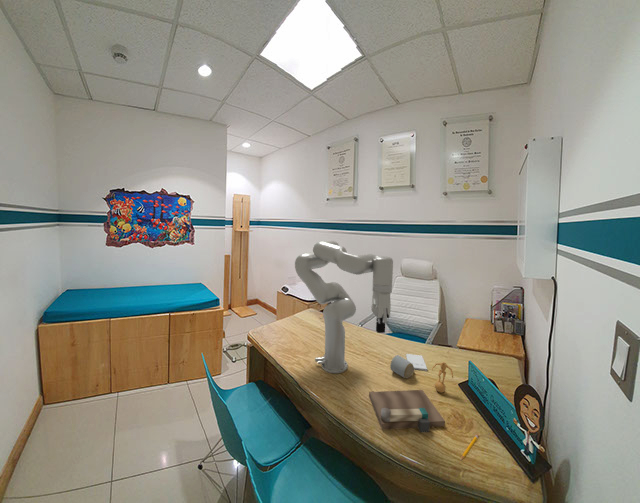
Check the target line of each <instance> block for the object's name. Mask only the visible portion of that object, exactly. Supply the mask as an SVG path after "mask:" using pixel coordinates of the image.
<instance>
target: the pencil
mask: <svg viewBox="0 0 640 503" xmlns="http://www.w3.org/2000/svg"><path fill="white" fill-rule="evenodd" d="M478 438H479V435H478V434H476V435H475V436H474V437H473V439H472V440H471V442H469V445H468V446H467V447H466V449H465V450H464V452H463V453H462V455H461V457H460V461H462V460H463V459H465V458H466V456H467V455H468V453H469V452H470V450H471V449H472V448H473V446H474V444H476V442H477V440H478Z"/></svg>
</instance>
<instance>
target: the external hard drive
mask: <svg viewBox="0 0 640 503" xmlns="http://www.w3.org/2000/svg"><path fill="white" fill-rule="evenodd" d="M405 357H406V358H405V359H406V360H407V361H409V362H410V363H412V364H413V366H414V370H415V371H417V370H419V371H423V372H424V371H425V372H428V368H427V364H426V360H424V356H423V355H421V354H420V355H419V354H414V353H413V354H412V353H406V354H405Z"/></svg>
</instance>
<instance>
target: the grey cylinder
mask: <svg viewBox="0 0 640 503" xmlns="http://www.w3.org/2000/svg"><path fill="white" fill-rule="evenodd" d="M389 367H390V370H391V371H392V372H393V373H395V374H397V375H398V376H400V377H402V378H404V379H409V378H412V375H413V373H414V370H415V369H414V366H413V364H412V363H410V362H409V361H407V358H404V357H402V356H401V355H399V354H397V355H395V356H394V357H393V358H392V359H391V361H390V366H389Z"/></svg>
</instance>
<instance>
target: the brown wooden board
mask: <svg viewBox="0 0 640 503" xmlns="http://www.w3.org/2000/svg"><path fill="white" fill-rule="evenodd" d="M368 398H369V400H370V402H371V406H372V408H373V411H374V413H375V416H376V419H377V421H378V423H379V426H380V430H404V429H418V424H419V421H396V422H384V421H382V419H381V409H382V408H388V409H419V408H425V410H426V411H427V413H428V420H429V422H430V427H429V428H437V427H438V428H440V427H446V426H445V425H446V420H445V419H444V417H443V416H442V415H441V413H440V412H439V411H438V409H437V408H436V406H435V405H434V404H433V402H432V401H431V400H430V398H429V397H428V395H427V394H426V393H425V392H424V390H423V389H411V390H410V389H409V390H389V391H388V390H385V391H382V390H381V391H369V392H368Z"/></svg>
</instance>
